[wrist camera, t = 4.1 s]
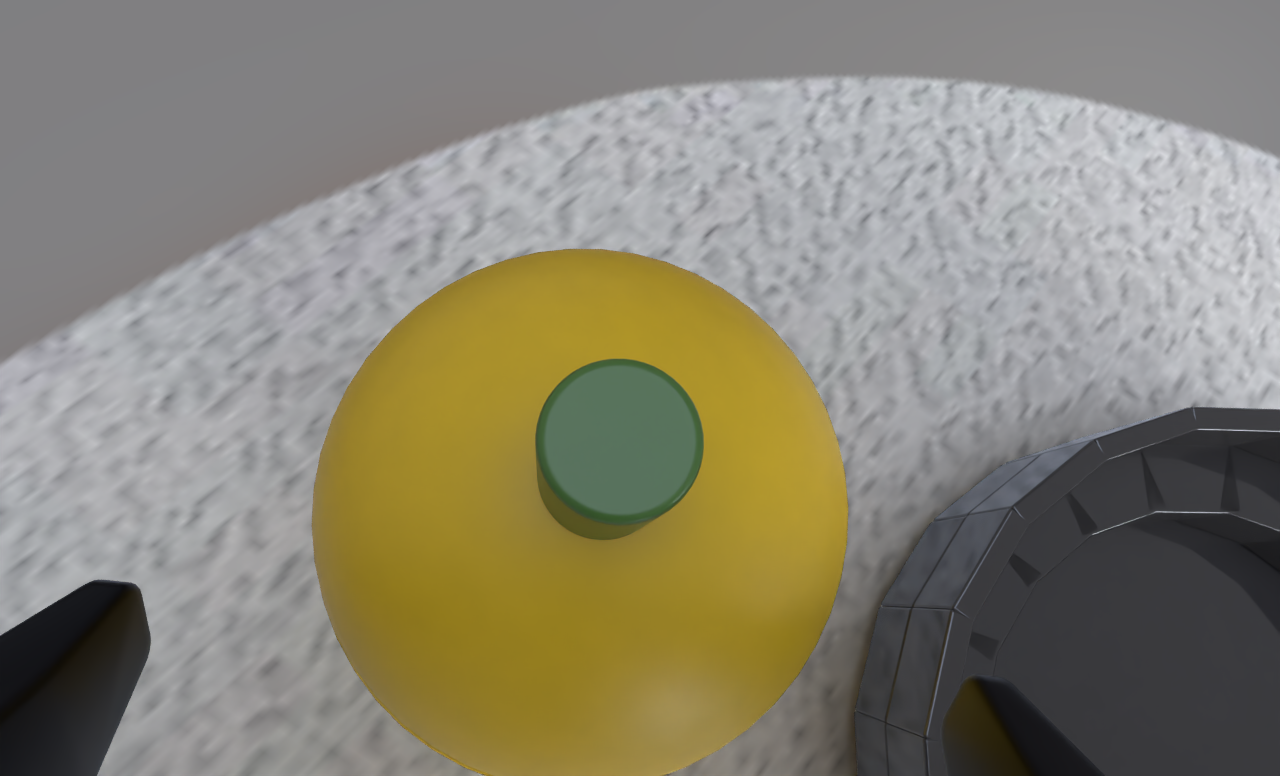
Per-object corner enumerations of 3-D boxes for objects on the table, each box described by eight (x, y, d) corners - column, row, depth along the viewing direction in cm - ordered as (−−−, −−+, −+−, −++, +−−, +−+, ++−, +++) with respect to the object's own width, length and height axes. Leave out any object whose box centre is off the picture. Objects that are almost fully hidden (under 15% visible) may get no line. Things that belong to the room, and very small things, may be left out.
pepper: (751, 578, 19) (1256, 551, 6) (528, 750, 18) (478, 1277, 4) (598, 365, 20) (716, -113, 6) (372, 513, 19) (-94, 308, 5)
